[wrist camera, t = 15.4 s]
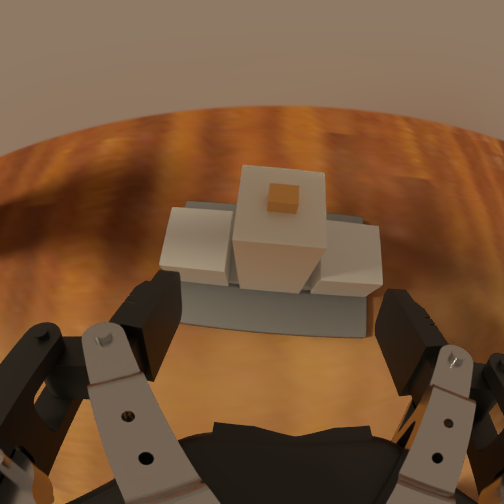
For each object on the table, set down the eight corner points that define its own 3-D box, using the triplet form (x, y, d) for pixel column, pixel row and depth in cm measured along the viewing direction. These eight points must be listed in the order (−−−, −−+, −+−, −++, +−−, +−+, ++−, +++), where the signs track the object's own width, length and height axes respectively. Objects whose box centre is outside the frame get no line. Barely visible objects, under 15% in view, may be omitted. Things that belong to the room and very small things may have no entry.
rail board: (166, 321, 25) (144, 309, 20) (188, 206, 30) (176, 172, 24) (362, 338, 24) (389, 330, 19) (359, 221, 29) (379, 191, 24)
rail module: (239, 288, 24) (230, 231, 14) (246, 234, 26) (242, 154, 16) (298, 293, 24) (331, 240, 14) (300, 239, 26) (327, 162, 16)
